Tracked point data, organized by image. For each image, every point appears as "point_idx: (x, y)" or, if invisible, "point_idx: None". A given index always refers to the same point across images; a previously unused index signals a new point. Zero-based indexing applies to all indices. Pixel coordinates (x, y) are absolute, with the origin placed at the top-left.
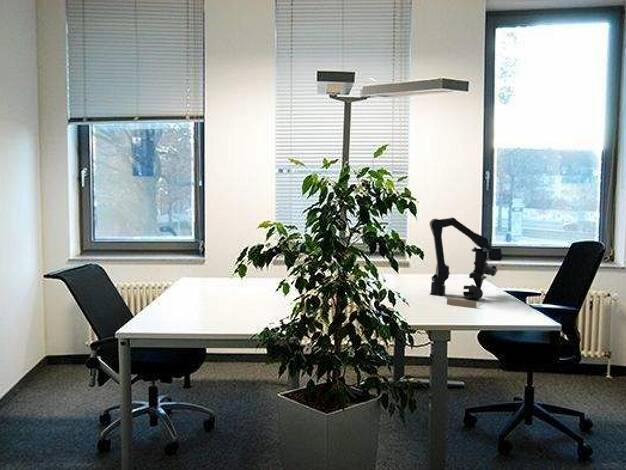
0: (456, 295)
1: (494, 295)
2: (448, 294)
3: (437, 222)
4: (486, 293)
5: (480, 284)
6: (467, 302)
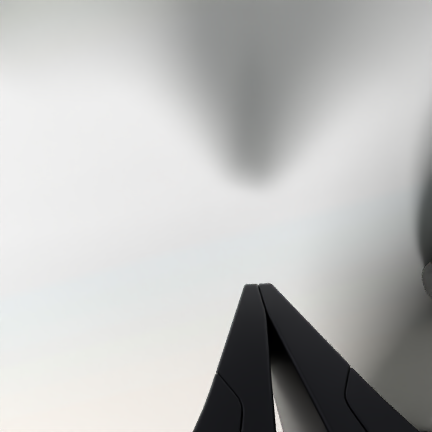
0: None
1: (52, 63)
2: None
3: None
4: (11, 215)
5: (353, 372)
6: None
